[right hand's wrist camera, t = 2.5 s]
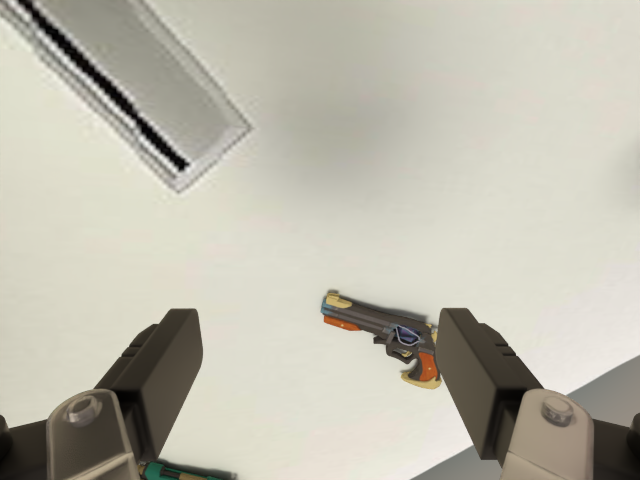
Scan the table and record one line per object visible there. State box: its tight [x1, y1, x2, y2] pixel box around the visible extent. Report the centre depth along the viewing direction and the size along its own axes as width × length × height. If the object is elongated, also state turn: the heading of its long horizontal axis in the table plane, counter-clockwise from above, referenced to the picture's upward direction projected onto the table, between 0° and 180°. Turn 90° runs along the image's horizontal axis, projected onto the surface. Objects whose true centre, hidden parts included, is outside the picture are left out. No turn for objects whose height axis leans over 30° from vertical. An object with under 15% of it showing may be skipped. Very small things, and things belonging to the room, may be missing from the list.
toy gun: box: [321, 293, 442, 389], centre depth 46 cm, size 3×19×10 cm
